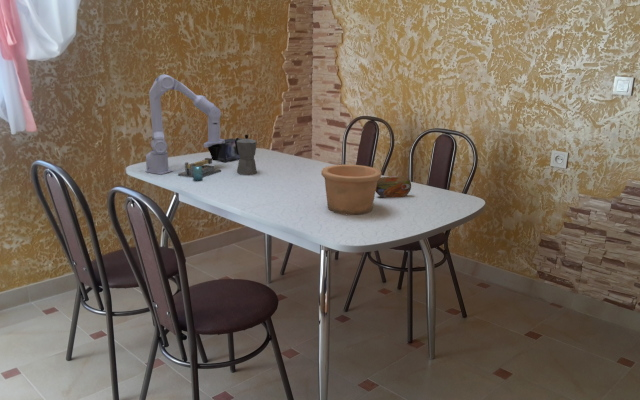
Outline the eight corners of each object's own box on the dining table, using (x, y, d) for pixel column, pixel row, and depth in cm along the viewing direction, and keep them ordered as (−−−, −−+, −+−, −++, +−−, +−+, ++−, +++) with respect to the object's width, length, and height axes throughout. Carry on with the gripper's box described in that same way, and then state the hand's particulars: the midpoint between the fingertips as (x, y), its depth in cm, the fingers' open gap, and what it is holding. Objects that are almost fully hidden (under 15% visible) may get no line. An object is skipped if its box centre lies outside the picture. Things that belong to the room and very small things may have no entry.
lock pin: (186, 169, 243) (186, 163, 242) (207, 162, 257) (206, 157, 256) (191, 169, 242) (191, 164, 241) (212, 163, 256) (211, 158, 255)
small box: (225, 162, 274) (224, 142, 271) (216, 161, 277) (215, 140, 275) (240, 159, 282) (240, 139, 279) (231, 158, 286) (231, 138, 283)
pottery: (343, 197, 218) (345, 161, 214) (390, 208, 204) (393, 170, 200) (308, 208, 202) (309, 170, 198) (356, 221, 188) (358, 181, 184)
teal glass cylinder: (191, 180, 237) (190, 167, 235) (197, 178, 241) (196, 165, 239) (199, 181, 235) (198, 168, 234) (204, 179, 239) (204, 166, 237)
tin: (376, 198, 217) (377, 177, 215) (373, 196, 220) (374, 176, 218) (410, 196, 221) (412, 176, 219) (407, 194, 224) (409, 174, 222)
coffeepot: (263, 174, 252) (263, 135, 247) (247, 177, 246) (246, 137, 241) (243, 168, 263) (243, 131, 258) (227, 170, 256) (226, 133, 252)
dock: (178, 175, 246) (177, 161, 244) (199, 168, 260) (199, 155, 258) (200, 178, 241) (199, 164, 239) (220, 171, 255) (220, 158, 253)
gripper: (212, 134, 248) (212, 163, 252) (229, 130, 261) (230, 158, 265) (199, 133, 251) (200, 162, 255) (217, 129, 264) (218, 156, 267)
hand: (214, 160), depth 260 cm, fingers closed
